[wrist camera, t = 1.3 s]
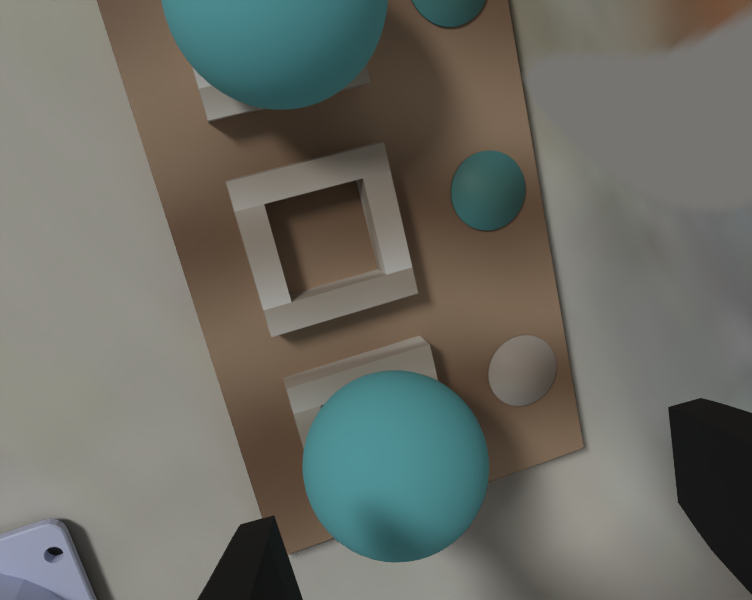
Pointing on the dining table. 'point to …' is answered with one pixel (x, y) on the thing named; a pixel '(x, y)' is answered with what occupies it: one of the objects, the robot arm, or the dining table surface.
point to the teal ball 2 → (395, 466)
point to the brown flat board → (361, 237)
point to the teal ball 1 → (277, 46)
